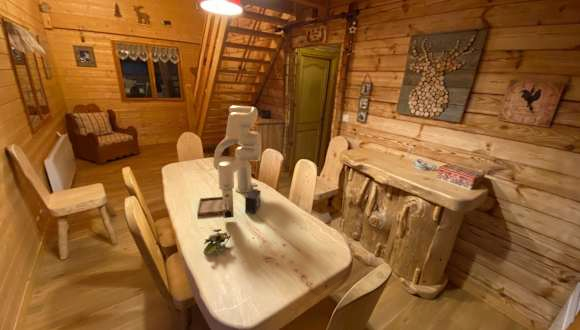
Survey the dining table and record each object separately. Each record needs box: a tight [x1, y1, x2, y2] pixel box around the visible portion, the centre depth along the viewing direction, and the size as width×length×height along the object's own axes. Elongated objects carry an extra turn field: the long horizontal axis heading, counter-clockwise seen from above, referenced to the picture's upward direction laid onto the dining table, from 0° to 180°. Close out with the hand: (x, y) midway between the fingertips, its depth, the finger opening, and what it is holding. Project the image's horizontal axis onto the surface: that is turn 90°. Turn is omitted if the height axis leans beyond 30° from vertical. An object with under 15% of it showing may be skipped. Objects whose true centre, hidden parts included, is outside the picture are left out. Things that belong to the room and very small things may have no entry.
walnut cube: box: [222, 204, 235, 219], centre depth 130 cm, size 6×6×6 cm
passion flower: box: [203, 228, 232, 255], centre depth 109 cm, size 11×11×12 cm
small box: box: [244, 189, 262, 215], centre depth 143 cm, size 11×6×10 cm, turn 168°
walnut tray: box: [196, 196, 223, 217], centre depth 144 cm, size 16×18×2 cm
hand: (228, 213), depth 131 cm, fingers closed on walnut cube, 5 cm apart
